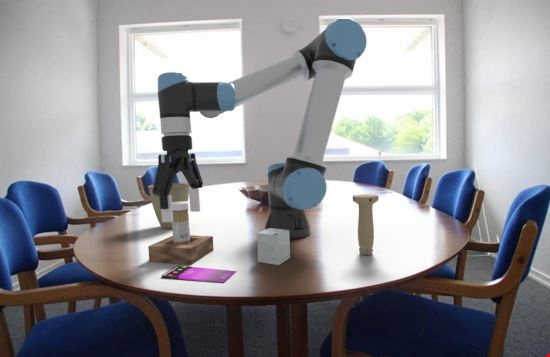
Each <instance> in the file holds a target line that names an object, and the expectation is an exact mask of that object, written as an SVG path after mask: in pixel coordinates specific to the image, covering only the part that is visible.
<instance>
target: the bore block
mask: <svg viewBox="0 0 550 357" xmlns="http://www.w3.org/2000/svg"><path fill="white" fill-rule="evenodd" d="M213 251H214V236H213V235H196V234H195V235H194V234H193V235H191V234H190V244H188V245H177V244H174V242H173V235H171V236H168V237H166V238H164V239H162V240H159V241H158V242H155V243H152V244H149V245H148V262H149V263H165V264H175V263H176V264H175V265H177V264H178V265H189V266H190V265H193V264H195V263H196V262H198V261H200V260H201V259H203V258H204V257H206V256H207V255H208V254H209V255H210V253H212V252H213Z"/></svg>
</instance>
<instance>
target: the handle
mask: <svg viewBox="0 0 550 357" xmlns="http://www.w3.org/2000/svg"><path fill="white" fill-rule="evenodd" d="M352 201H353V203H355V204H357V205H358V221H357V239H358V240H357V242H358V247H359V248H358V249H359V250H358V251H359V254H361V255H363V256H365V255H366V256H370V255H372V254H373V252H374V248H373V247H374V240H375V228H374V226H375V225H374V216H373V215H374V214H373V213H374V212H373V207H374V204H375V203H377V202H378V201H379V195H377V194H371V193H369V194H355V195H352Z"/></svg>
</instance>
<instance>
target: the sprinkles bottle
mask: <svg viewBox="0 0 550 357" xmlns="http://www.w3.org/2000/svg"><path fill="white" fill-rule="evenodd" d="M172 210H173V222H172V228H171V229H172V236H173V242H174V244H177V245H188V244H190V235H191V230H190V229H191V228H190V219H189V217H190V216H189V211H190V204H189V201H188V202H187V201H178V202H172Z"/></svg>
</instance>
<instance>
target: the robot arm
mask: <svg viewBox="0 0 550 357" xmlns="http://www.w3.org/2000/svg"><path fill="white" fill-rule="evenodd" d="M367 42H368V40H367V34H366V32H365V31H364V29H363V26H362V25H360V23H359V22H358V21H356V20H354V19H353V18H350V17H340V18H337V19H336V20H334V21H332V22H330V23H329V24H328V25H327V26H326V28H325V29H324V30H323V31H321V33H319V34H318V35H317V36H316V37H315V38H314V39H313V40H311V42H309V43H308V44H306V45H305V46H303V47H302V48H300V49H298V50H296V51H294V52H293V54H292V56H290V57H287V58H284V59H283V60H280V61H278V62H275V63H273V64H270V65H267V66H265V67H263V68H260V69H258V70H256V71H254V72H250V73H248V74H246V75H244V76H241V77H239V78H236V79H234V80H232V81H231V80H230V81H229V82H223V81H219V82H216V81H214V82H212V81H211V82H209V81H208V82H207V81H205V82H204V81H202V82H200V81H199V82H194V81H193V82H192V81H189V79H188V76H187V75H186V74H185V73H184V72H183V73H182V72H176V71H171V72H170V71H169V72H163V73H161V74H159V75H158V77H157V98H158V100H157V101H158V109H159V110H158V112H159V119H160V134H162V135H163V136H162V137H161V149H162V151H163V152H166V153H164V154H158V156H157V158H158V160H157V161H158V162H157V167H156V168H157V169H156V172H155V173H156V174H155V177H154V183H153V185H154V186H153V194H155V195H156V196H159V198H160V208H161V216H162V222H173V210H172V197H171V195H169V192H170V190H171V187H172V184H173V183H175V182H174V181H175V179H176V176H177V174H179V172H181V173H182V175H183V176H184V178H185V180H186V182H187V183H188V184H189V185H190V189H189V198H188V200H189V211H190V213H191V212H194V213H195V212H201V202H200V189H202V188H203V184H204V182H203V179H202V176H201V171H200V170H199V166H198V163H197V159H196V154H195V153H191V152H190V153H189V151H192V150H193V138H192V136H191V135H190V134H191V133H192V124H191V122H192V121H191V114H190V113H191V112H193V113H196V112H199V114H201V115H202V116H203V117H204V118H207V119H214V118H218V116H220V115H221V114H223V113H225V112H233V111H234V110H235V108H237V107H239V106H242V105H244V104H246V103H248V102H251V101H254V100H256V99H258V98H261V97H262V96H265V95H268V94H270V93H272V92H275V91H277V90H279V89H282V88H284V87H287V86H289V85H291V84H293V83H296V82H298V81H300V80H301V81H303V82H306V81H307V82H308V81H309V80H312V79H313V82H312V85H311V90H310V92H309V96H308V99H307V103H306V107H305V110H304V115H303V118H302V122H301V125H300V130H299V133H298V137H297V140H296V143H295V147H294V151H293V152H292V153H291V154H289V155H287V156H286V160H285V162H278V163H277V162H276V163H272V164H270V165H269V166H268V168H267V187H268V189H267V190H268V214H267V217H266V221H265V225H264V228H263V229H264V230H266V229H269V228H275V229H283V230H289V237H290V240H291V239H300V238H304V237H307V236H309V235H310V234H311V224H310V221H309V218H308V216H307V213H306V210H307V211H308V210H311V209H313V208H315V207H317V206H318V205H320V203H322V201H323V200H324V198H325V196H326V193H327V186H328V185H327V182H326V179H325V174H326V171H327V165H326V164H325V162H324V158H325V154H326V150H327V147H328V143H329V139H330V135H331V131H332V127H333V125H334V121H335V117H336V114H337V110H338V106H339V103H340V99H341V96H342V91H343V89H344V84H345V81H346V80H347V79H348V78H350V77H352V75H353V72H354V69H355V64H356V61H357V59H359V58H360V57H362V55H363V54H364V52H365V51H366V48H367V44H368V43H367ZM158 188H159V189H158ZM264 230H263V231H264Z"/></svg>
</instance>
